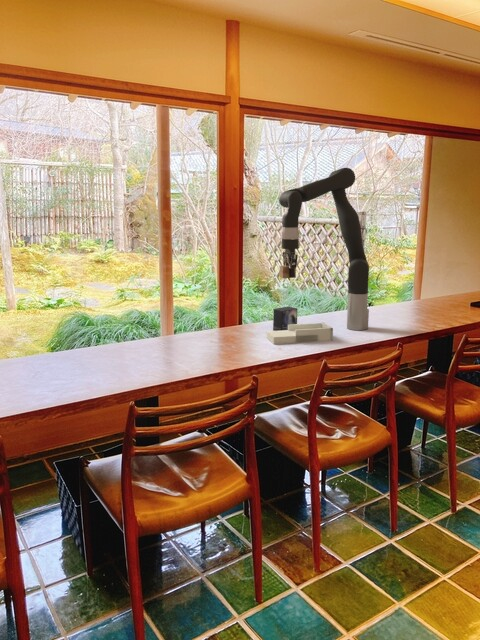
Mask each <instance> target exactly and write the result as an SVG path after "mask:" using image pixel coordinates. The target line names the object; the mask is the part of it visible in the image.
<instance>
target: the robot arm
mask: <svg viewBox="0 0 480 640" xmlns="http://www.w3.org/2000/svg"><path fill="white" fill-rule="evenodd" d="M355 182H356V173H355V172H354V170H353V169H351V168H349V167H342V168H339V169H337V170H334V171H332V172H331V173H330V174H329V176H328V177H326V178H322V179H318V180H316V181H313V182H310V183H306V184H304V185H302V186H300V187H296V188H293V189H292V188H291V189H288V190H285V191H283V192H281V194H280V195H279V197H278V202H279V205H280V206H281V207H283V208H287V212H286V213H284V214H283V215H282V218H281V219H282V223H281V249H283V250H285V251H283V252H282V261H283V266H285V265H289V277H294V269H295V268H296V269H297V268H298V267H297V266H298V254H297V253H296V250H298V249H299V248H300V247H299V244H300V243H299V241H300V232H299V231H300V230H299V217H300V214H301V209H302V206H303V203H306V202H310V201H312V200H314V199H318V198H320V197H321V196H323V195H325V194H327V193H330V192H331V195H332V198H333V201H334V205H335V209H336V214H337V217H338V222H339V223H338V224H339V227H340V233H341V235H342V238H343V239H342V240H343V242H344V244H345V246H346V249H347V254H348V261H349V265H348V270H347V271H348V272H347V274H348V275H347V276H348V277H347V313H346V315H347V317H346V329H348V330H352V331H364V330H366V329H367V330H368V329H369V319H370V318H369V315H370V313H369V312H370V310H369V308H368V302H369V301H368V299H369V297H368V296H369V273H370V265H369V263H368V259H367V257H366V253H365V250H364V245H363V244H364V243H363V234H362V227H361V221H360V217H359V214H358V213H357V211H356V209H354V208H355V207H353V206H352V204H351V203H350V201H349V199H348V197H347V193H346V189H349V188H350V187H352V186H353V185H354V183H355Z"/></svg>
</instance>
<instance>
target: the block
mask: <svg viewBox="0 0 480 640" xmlns="http://www.w3.org/2000/svg"><path fill="white" fill-rule="evenodd" d="M296 277H297V267H296V268H295V269H294V277H289V265H279V278H282V279H295V278H296Z"/></svg>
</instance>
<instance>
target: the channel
mask: <svg viewBox="0 0 480 640" xmlns="http://www.w3.org/2000/svg"><path fill="white" fill-rule="evenodd" d="M333 334H334V327H333V326H330V325H328V324H326V323H325V322H313V323H312V322H311V323H297V324H291V325H288V330H281V331H275V330H266V337H265V338H266V339H267V340H268V341H269V342H270V343H272V344H273V345H280V344H281V345H282V344H296V343H298V342H299V343H312V342H324V341H325V342H327V341H333V338H334V337H333Z"/></svg>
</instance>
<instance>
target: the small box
mask: <svg viewBox="0 0 480 640" xmlns="http://www.w3.org/2000/svg"><path fill="white" fill-rule="evenodd" d="M272 315H273V319H272V321H273V323H272V325H273V326H272V331H281V330H288V325H291V324H298V308H297V307H294V306H291V305H289V306H283V307H282V306H281V307H276V308H273V314H272Z"/></svg>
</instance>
